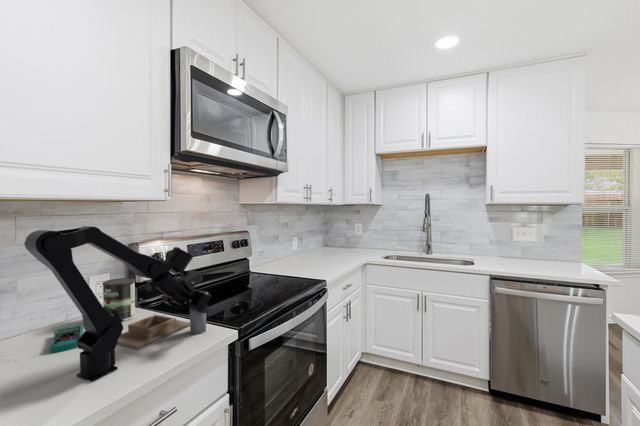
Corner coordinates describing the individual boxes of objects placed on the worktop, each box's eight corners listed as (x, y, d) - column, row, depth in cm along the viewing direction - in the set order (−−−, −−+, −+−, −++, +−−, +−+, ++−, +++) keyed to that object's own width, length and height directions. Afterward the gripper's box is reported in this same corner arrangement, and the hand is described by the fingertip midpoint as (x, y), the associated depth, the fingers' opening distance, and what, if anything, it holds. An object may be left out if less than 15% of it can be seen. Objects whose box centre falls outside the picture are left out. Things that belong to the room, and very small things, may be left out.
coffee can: (119, 323, 112) (118, 285, 111) (96, 321, 114) (95, 283, 114) (142, 314, 122) (141, 278, 121) (120, 312, 124) (119, 277, 124)
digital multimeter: (49, 355, 89) (49, 345, 89) (54, 337, 101) (54, 328, 101) (81, 348, 94) (81, 339, 94) (83, 332, 106) (82, 323, 106)
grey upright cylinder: (198, 335, 102) (197, 298, 102) (186, 332, 104) (186, 297, 103) (209, 329, 106) (208, 294, 106) (198, 327, 108) (197, 293, 108)
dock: (139, 349, 92) (139, 336, 92) (108, 341, 97) (108, 329, 97) (191, 325, 110) (191, 314, 110) (163, 319, 116) (163, 309, 116)
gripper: (205, 267, 96) (233, 293, 106) (169, 261, 106) (197, 286, 116) (183, 299, 90) (214, 324, 99) (147, 290, 99) (179, 313, 109)
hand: (201, 310), depth 106 cm, fingers open, 7 cm apart
